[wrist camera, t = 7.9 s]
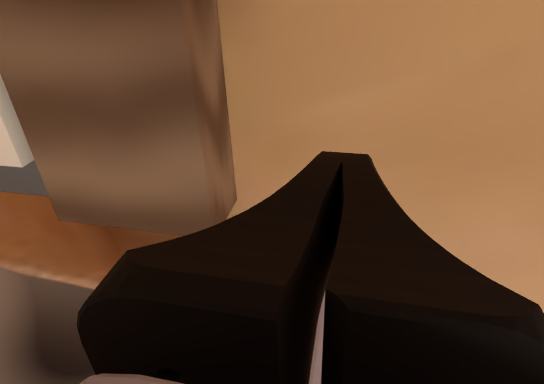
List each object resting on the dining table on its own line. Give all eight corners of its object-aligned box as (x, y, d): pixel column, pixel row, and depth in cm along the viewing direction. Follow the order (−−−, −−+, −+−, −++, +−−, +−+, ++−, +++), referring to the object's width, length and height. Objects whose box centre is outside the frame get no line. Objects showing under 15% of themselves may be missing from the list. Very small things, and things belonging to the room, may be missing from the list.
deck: (236, 199, 25) (215, 239, 22) (97, 186, 27) (58, 220, 24) (210, -63, 18) (171, -63, 15) (21, -54, 20) (-50, -52, 17)
